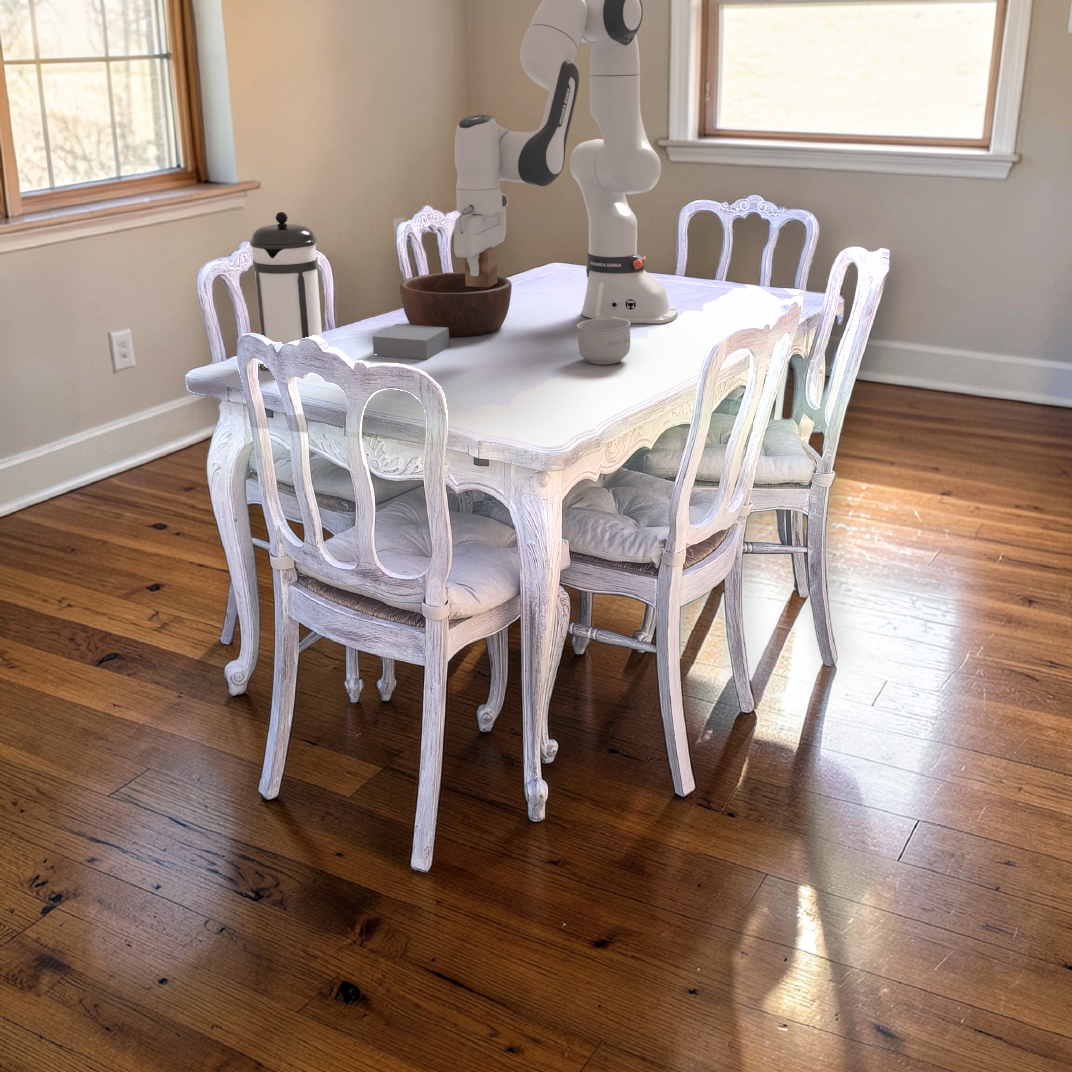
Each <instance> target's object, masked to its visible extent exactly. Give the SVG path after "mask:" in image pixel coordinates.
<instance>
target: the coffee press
mask: <svg viewBox="0 0 1072 1072" xmlns="http://www.w3.org/2000/svg"><path fill="white" fill-rule="evenodd" d="M275 220H276V222H277V224H268V225H264V226H262V227H259V228H257V229H256V230H254V232H253V234H252V238H251V239H250V240H249V245H250V247H251V248H252V249H251V250H252V256H253V259H252V268H253V269H252V270H253V271H254V278H255V287H256V298H257V300H256V301H257V307H258V308H257V309H258V319H259V329H260V336H261V335H264V336H265V337H267V338H269V339H270V340H272V341H275V342H288V341H292V340H299V339H302V338H305V337H309V336H312V335H322V336H323V330H322V329H323V328H322V318H321V317H322V316H321V315H322V314H321V304H320V302H321V301H320V292H319V289H320V287H319V278H318V276H319V275H318V268H319V262H318V256H317V251H316V250H317V249H316V246H317V244H318V238H317V237H316V236H315V234H314V232H313V231H312V230H311V229H310V228H309V227H307V226H306V225H305V226H304V225H301V224H297V223H296V224H295V223H294V224H293V223H286V222H287V221H288V215H287V213H285V212H283V211H279V212H278V213H276V215H275ZM263 365H264V363H263V364H260V366H258V368H259V369H260V370H262V371H267V370H268V369H267V368H266V367H265V366H264V367H263Z"/></svg>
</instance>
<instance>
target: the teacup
mask: <svg viewBox="0 0 1072 1072" xmlns="http://www.w3.org/2000/svg"><path fill="white" fill-rule="evenodd" d="M631 324H632V323H630V321H628V320H625V319H619V318H618V317H611V318H598V319H592V318H591V319H586V320H583V321H579V322H578V323H577V324H576V329H577V330H576V331H577V343H578V352H579V353H580V355H581V357H582V358H584V359H585V360H586V361H587V362H588V363H590V364H593V365H601V366H602V365H604V366H605V365H613V364H617V363H619V362H621V361H622V360H623V359H624V358H625V357H626V356H627V355H628V354H629V352H630V349H631Z"/></svg>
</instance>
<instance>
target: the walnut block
mask: <svg viewBox="0 0 1072 1072" xmlns="http://www.w3.org/2000/svg"><path fill="white" fill-rule="evenodd" d="M497 257H498V255H497V247H494V248H489V249H487V250H485V251H483V252H481V253H479V259H478V262H479V266H481V274H480V275H479V276H471V275H470V267H469V264H468V261H467V258H464V272H465V282H466V286H475V287H490V286H492V285H494V284H495V283H497V276H498V264H497V263H498V260H497Z"/></svg>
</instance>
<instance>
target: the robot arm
mask: <svg viewBox="0 0 1072 1072" xmlns="http://www.w3.org/2000/svg"><path fill="white" fill-rule="evenodd" d="M643 11H644V10H643V3H642V0H542V1H541V2H540V4H539V5H538V7H537V9H536V11H535V13H534V15H533V17H532V19H531V20H530V23H529V25H528V28H527V30H526V32H525V34H524V37H523V39H522V42H521V45H520V48H519V49H520V50H519V60H520V61H519V62H520V65H521V67H522V69H523V70H524V73H525V74H526V75H527V76H528V77H529V79H531V80H532V81H533V82H534V83H535V84H536V85H538V86H539V87H541V88H543V89H545V90H547V91H548V97H547V101H546V104H545V105H546V106H545V108H544V114H543V117H542V121H541V124H540V126H539V127H538V128H537V129H536V130H533V131H517V130H516V131H515V130H509V129H507V128H505V127H503V126H501V125H499V124H498V123H497V122H496V118H495V117H494V116H492V115H490V114H489V115H488V114H477V115H471V116H468V117H467V116H466V117H465V118H462V119H461V120H460V121H458V123H457V125H456V130H455V134H454V166H455V168H456V172H457V174H456V175H457V177H456V179H457V180H456V183H455V189H456V190H455V193H456V195H455V196H456V212H457V213H458V214H459V216H458V217H457V218H456V219H455V221H454V228H453V229H454V230H453V252H454V255H455V257H456V258H462V259H463V258H464V259H465V258H467V261H468V264H469V267H470V275H471V276H479V275H480V274H481V266H479V262H478V259H479V253H481V252H483V251H485V250H487V249H489V248H495V246H497V245H499V244H502V243H503V242H504V240H505V237H506V229H507V211H506V208H507V207H508V205H509V204H508V203H509V202H508V201H509V200H508V196H507V194H505V193H503V192H502V191H501V188H502V187H501V186H502V185H501V182H500V181H504V182H505V181H506V182H512V183H513V182H514V183H525V184H529V185H534V186H538V187H547V186H549V185H551V184H552V183H553V182H554V181H556V180H557V178H558V177H559V176H560V174H561V173H562V171H563V168H564V166H565V161H566V159H565V158H566V145H567V141H568V136H569V131H570V127H571V123H572V119H573V115H574V110H575V105H576V101H577V97H578V92H579V85H580V84H579V83H580V74H579V70H578V67H577V66H576V65H575V59H576V57H577V54H578V51H579V48H580V46H581V43H586V44H587V43H590V45H591V49H590V56H589V57H590V58H589V111H590V114H591V117H592V118H593V119H594V121H595V122H596V123H597V125H598V127H599V131H600V132H601V137H602V138H595V139H591V140H586V141H583V142H581V143H578V145H576V146H575V148H573V150H572V152H571V154H570V158H569V170H570V175H571V176H572V178H573V179H574V180H575V181H576V183H577V184H578V186H579V188H580V191H581V193H582V197H583V201H584V203H585V207H586V212H587V219H588V252H587V254H586V261H585V264H586V265H585V267H586V268H585V269H586V270H585V271H586V277H587V283H586V291H585V297H584V301H583V306H582V309H581V313H580V314H581V315H582V316H583V317H586V318H589V319H591V320H592V319H598V318H611V317H618V318H619V319H625V320H628V321H630V323H631V324H666V323H669V322H672V321H673V320H675V319H676V318H677V317H678V310H677V308H676V307H672V306H669V305H670V304H669V297H668V293H667V289H666V287H664V285H662V284H661V282H659V281H658V280H656V278H655V277H653V276H651V274H649V273H648V272H647V271H646V270H645V269H646V268H645V265H646V262H647V261H646V259H647V258H646V255H645V256H642V255H641V254H639V253H638V251H637V250H638V247H637V246H638V243H637V242H638V219H637V217H636V214H635V213H634V212H633V210H632V209H631V207H630V206H629V203H628V201H627V197H626V195H637V194H642V193H647V192H649V191H651V190H652V189H653V188H655V186H656V185H658V184H657V183H659V180H660V177H661V172H662V162H661V160H660V159H661V158H660V157H659V155H658V153H657V152H656V151H655V150H654V149H653V147H652V145H651V143H650V142H649V140H648V137H647V133H646V131H645V127H644V124H643V118H642V113H641V83H640V82H641V60H640V50H639V42H638V35H637V33H638V31H639V29H640V27H641V24H642V20H643V13H644V12H643Z"/></svg>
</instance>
